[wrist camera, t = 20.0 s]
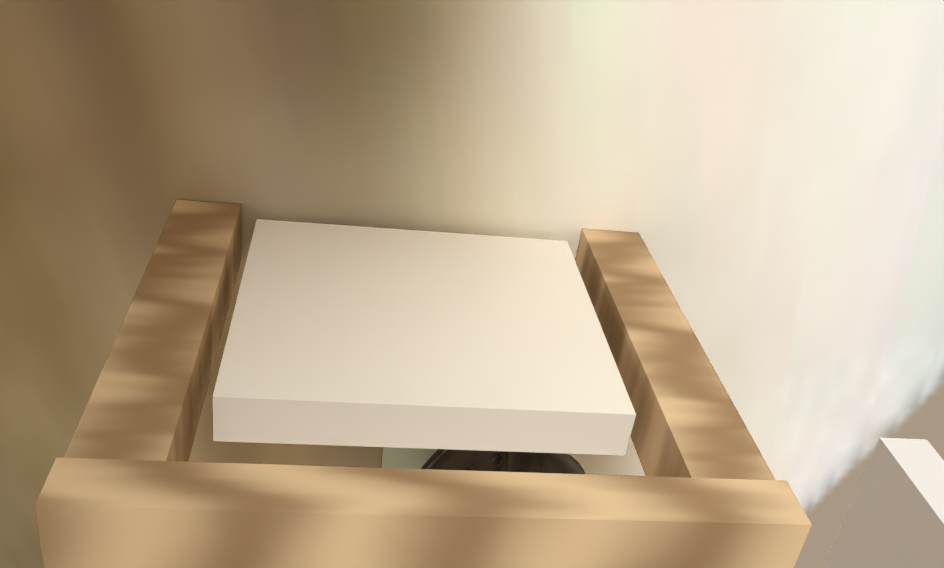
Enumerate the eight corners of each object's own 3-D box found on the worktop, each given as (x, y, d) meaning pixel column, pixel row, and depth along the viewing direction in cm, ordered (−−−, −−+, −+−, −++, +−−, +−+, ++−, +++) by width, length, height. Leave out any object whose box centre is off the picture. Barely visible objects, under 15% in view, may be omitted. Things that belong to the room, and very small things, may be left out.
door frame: (179, 263, 45) (49, 605, 27) (176, 189, 43) (34, 505, 25) (624, 291, 48) (774, 612, 30) (640, 224, 46) (811, 524, 28)
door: (256, 255, 45) (213, 441, 33) (256, 219, 44) (212, 396, 32) (560, 275, 47) (625, 455, 35) (567, 240, 46) (636, 414, 34)
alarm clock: (432, 513, 54) (452, 777, 40) (365, 467, 52) (363, 730, 38) (570, 405, 51) (644, 651, 37) (506, 351, 49) (559, 592, 35)
